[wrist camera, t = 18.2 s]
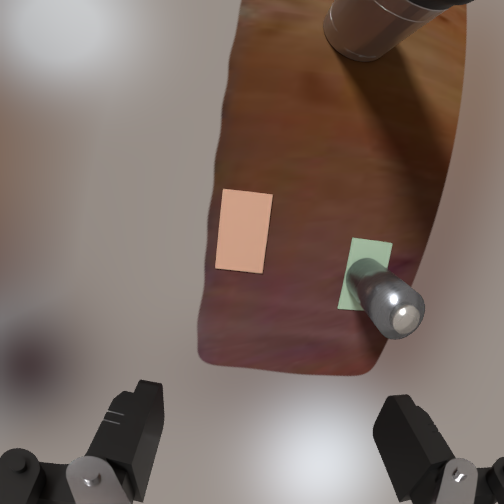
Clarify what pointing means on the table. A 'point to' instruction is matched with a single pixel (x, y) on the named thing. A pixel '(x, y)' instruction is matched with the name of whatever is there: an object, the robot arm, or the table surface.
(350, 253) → the mat
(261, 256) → the mat
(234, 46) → the table surface
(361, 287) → the bottle
